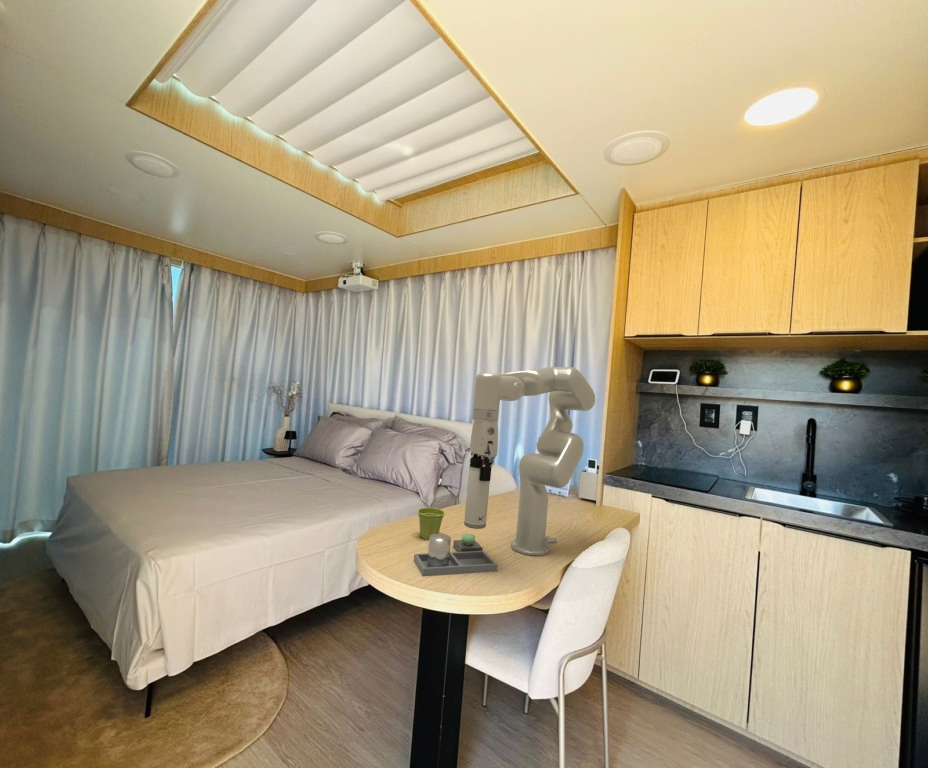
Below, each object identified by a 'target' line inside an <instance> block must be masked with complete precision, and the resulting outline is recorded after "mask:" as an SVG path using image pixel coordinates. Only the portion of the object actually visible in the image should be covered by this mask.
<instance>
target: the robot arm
mask: <svg viewBox="0 0 928 768" xmlns="http://www.w3.org/2000/svg"><path fill="white" fill-rule="evenodd" d="M547 393H548V404H549V411H550V418H549V420H548V422H547V424H546V426H545V427H544V429H543V431H542V432H541V434H540V436H539V437H538V439H537V442H536V451H537V452H538V453H537V452H536V453H535V452H531V453H527V454H525V455H523V456H522V457H521V459H520V460H519V465H518V474H519V498H518V499H519V500H518V512H517V525H516V533H515V535H516V538H515V539H513V540H512V541H510V547H511V549H512V550H514V551H515V552H518V553H520V554H523V555H528V556H533V557H534V556H536V557H538V556H546V555H547V554H549V553H550V547H549V545H554V544H556V545H557V544H558V538H557V537H550V536H549V535H546V530H547V521H548V520H547V518H548V510H549V509H548V508H549V507H548V506H549V494H548V490H547V488H546V486H548V487H552V488H556V489H562V488H565V487H566V486H567V485H568V484H569V482H570V481H571V479H572V477H573V475H574V473H575V471H576V469H577V467H578V466H579V463H580V461H581V459H582V458H583V457H582V456H583V453H584V447H585V446H584V441H583V438H582V437H581V436H580V435H579V434H577V433H574V432H572V430H573V427H574V425H573V420H572V418H571V416H570V415H569V413H568V410H569V411H581V412H582V411H583V412H587V411H591V410H592V409H593V407H594V406H595V404H596V395H595V392H594V389H593V388H592V386H591V385H590V384H589V382H588V381H587V379H586V378H585V376H584V374H583V373H582V372H580V371H579V370H578V368H575V367H572V366H549V367H542V368H537V369H529V370H521V371H520V370H519V371H514V372H505V373H497V374H496V373H490V372H489V373H488V372H487V373H486V372H482V373H481V372H480V373H478V374H477V375H476V377H475V385H474V395H473V396H474V397H473V404H472V405H473V407H472V408H473V409H472V416H471V420H472V421H473V422H472V429H471V435H470V441H469V442H470V444H469V448H470V449H469V450H470V455H471V456H470V458H472V457H479V456H481V461H482V466H480V476H479V480H480V481H490V482H491V479H492V478H491V477H492V467H493V463H494V460H495V458H496V457H497V456H498V448H499V425H498V424H499V412H500V402H501V401H502V402H503V401H504V402H514V401H515V402H516V401H518V400H519V399H521V398H522V397H534V396H539V395H541V394H543V395H544V394H547ZM485 458H487V459H486V460H485Z"/></svg>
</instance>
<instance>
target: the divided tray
mask: <svg viewBox="0 0 928 768" xmlns="http://www.w3.org/2000/svg"><path fill="white" fill-rule="evenodd" d="M427 558H428V552H427V553H414V555H413V562H414V563H415V565H416V567H417V569H418V571H419V572H420V574H421V576H422V577H430V576H431V577H432V576H434V577H435V576H445V575H446V576H447V575H463V574H476V573H479V574H480V573H493V572H498V567H499V564H498V563H497V562H496V561H495V560H494V559H493V558H491V556H490V555H488V553H487V552H485V551H484V550H482V551H469V552H456V551H453V552H452V551H450V556H449V566H443V567H427Z"/></svg>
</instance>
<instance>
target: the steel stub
mask: <svg viewBox="0 0 928 768" xmlns="http://www.w3.org/2000/svg"><path fill="white" fill-rule="evenodd" d="M451 545H452V537H451V536H450V535H448V534H444V533H439V534H432V535H430V537H429V540H428V549H427V553H428V558H427V567H443V566H449V556H450V552H451Z"/></svg>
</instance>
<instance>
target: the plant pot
mask: <svg viewBox="0 0 928 768" xmlns="http://www.w3.org/2000/svg"><path fill="white" fill-rule="evenodd" d="M417 514H418V519H419V537H420V538H422V539H423V540H427V541H429V537H430V535H432V534H440V529H441V525H442V522H443V519H444V516H445V515H446V511H444V510H443V509H440V508H436V507H422V508H419V509H417Z"/></svg>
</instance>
